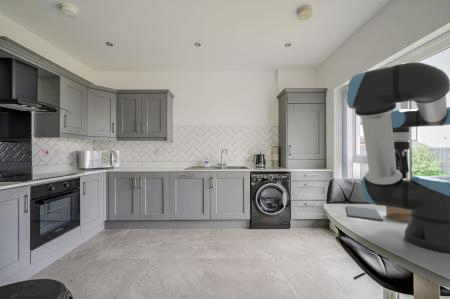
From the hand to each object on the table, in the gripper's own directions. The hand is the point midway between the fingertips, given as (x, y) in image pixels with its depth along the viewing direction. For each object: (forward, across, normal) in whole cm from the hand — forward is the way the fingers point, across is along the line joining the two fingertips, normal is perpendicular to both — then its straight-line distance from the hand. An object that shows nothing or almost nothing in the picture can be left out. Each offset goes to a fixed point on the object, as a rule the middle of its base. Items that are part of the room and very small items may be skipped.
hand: (399, 184), depth 104 cm
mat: (+16, 0, +15) cm, 22 cm away
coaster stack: (+16, 0, 0) cm, 16 cm away
